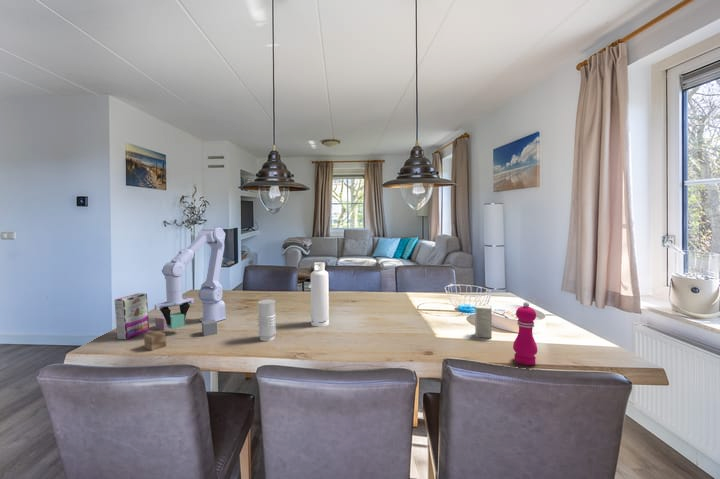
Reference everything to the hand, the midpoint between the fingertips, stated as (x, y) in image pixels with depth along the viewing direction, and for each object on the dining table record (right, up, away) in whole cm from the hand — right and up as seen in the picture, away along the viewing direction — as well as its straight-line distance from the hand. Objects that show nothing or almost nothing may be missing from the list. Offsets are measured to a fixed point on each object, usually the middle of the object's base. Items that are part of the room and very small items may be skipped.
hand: (175, 322), depth 137 cm
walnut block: (+1, -6, -15) cm, 16 cm away
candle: (+40, -5, -6) cm, 41 cm away
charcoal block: (+14, -5, 0) cm, 15 cm away
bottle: (+59, -4, +12) cm, 61 cm away
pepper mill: (+132, -6, -28) cm, 136 cm away
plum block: (-9, -4, +8) cm, 13 cm away
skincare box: (+127, -4, -5) cm, 128 cm away
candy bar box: (-17, -5, -1) cm, 18 cm away
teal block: (0, -2, 0) cm, 2 cm away
